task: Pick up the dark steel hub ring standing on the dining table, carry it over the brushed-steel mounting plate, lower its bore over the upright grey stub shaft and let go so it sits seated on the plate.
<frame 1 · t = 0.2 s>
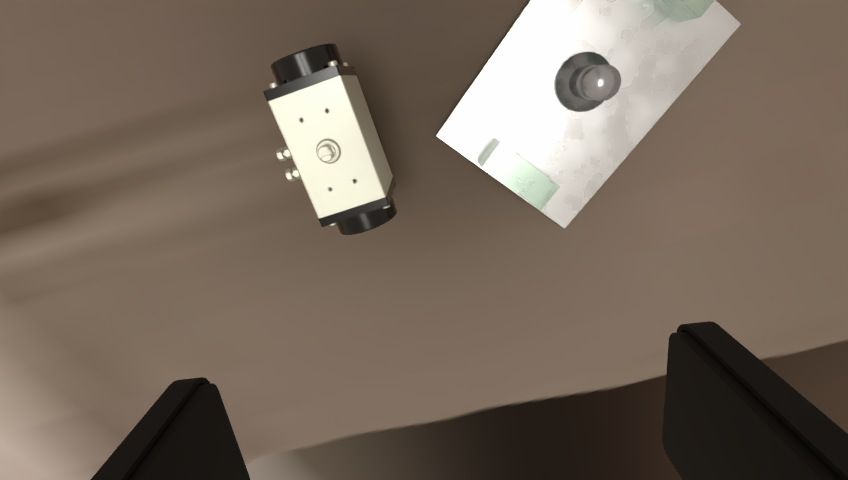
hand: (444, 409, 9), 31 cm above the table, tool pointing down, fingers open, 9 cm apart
pneumatic valve: (351, 132, 37), on the table
seat: (577, 82, 36), on the table
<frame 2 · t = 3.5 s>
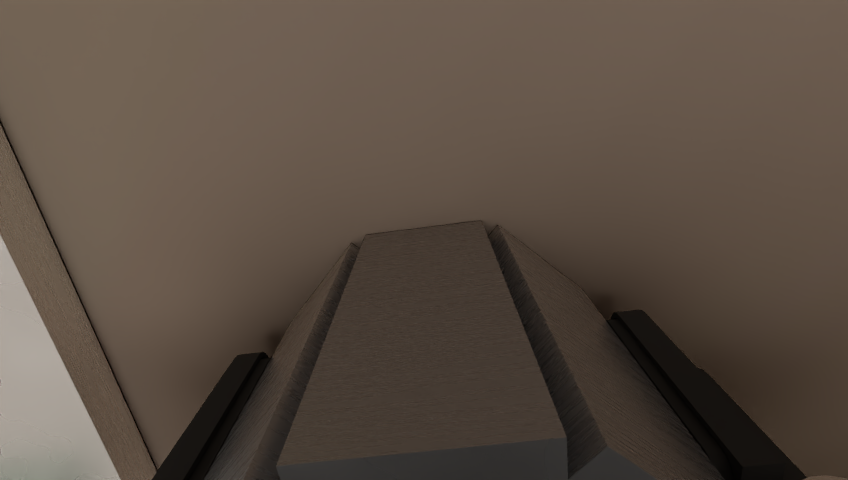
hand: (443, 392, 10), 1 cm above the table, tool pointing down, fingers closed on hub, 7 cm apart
hub: (442, 364, 11), on the table, touching gripper
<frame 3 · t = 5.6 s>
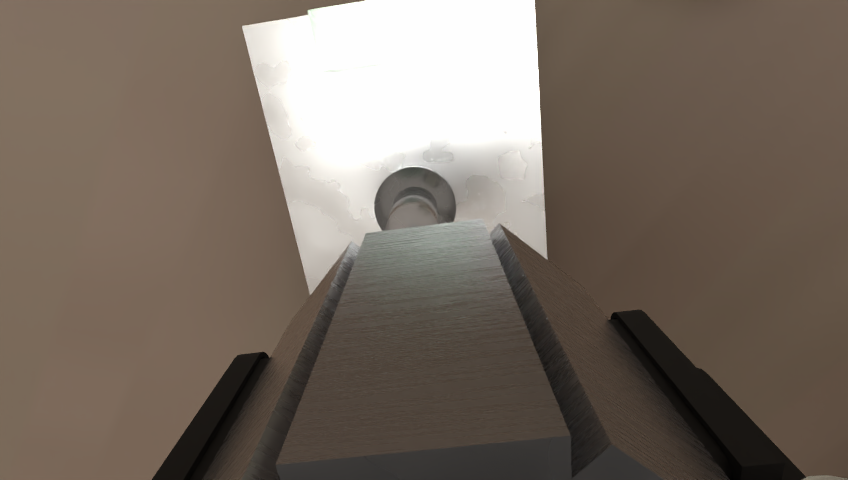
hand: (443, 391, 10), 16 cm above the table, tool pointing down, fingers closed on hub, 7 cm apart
hub: (442, 363, 11), point 15 cm above the table, touching gripper
seat: (416, 200, 25), on the table
when the fingers open (3 cm above the table, at t = 8.0 s): hub stays where it is, resting on seat.
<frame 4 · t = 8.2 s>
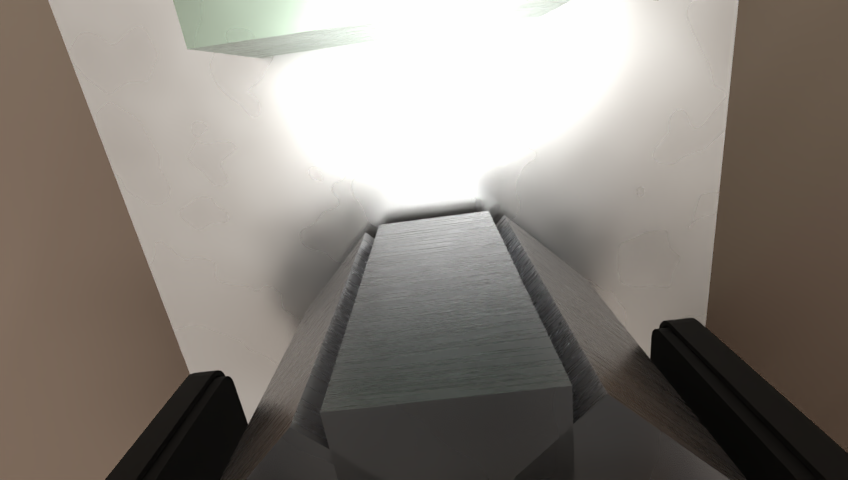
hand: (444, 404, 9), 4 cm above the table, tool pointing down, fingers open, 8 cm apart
hub: (450, 348, 11), point 2 cm above the table, touching seat
seat: (438, 316, 13), on the table
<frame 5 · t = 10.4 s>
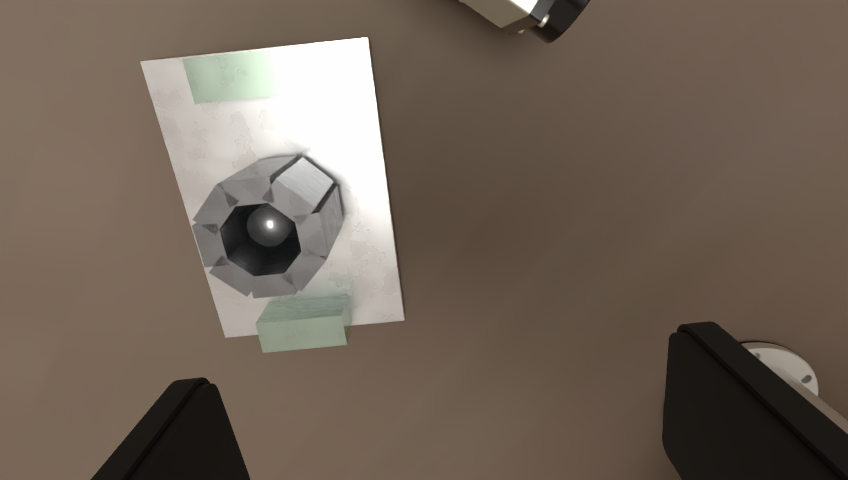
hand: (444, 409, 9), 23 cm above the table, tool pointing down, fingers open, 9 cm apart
hub: (289, 208, 30), point 2 cm above the table, touching seat
seat: (291, 201, 31), on the table
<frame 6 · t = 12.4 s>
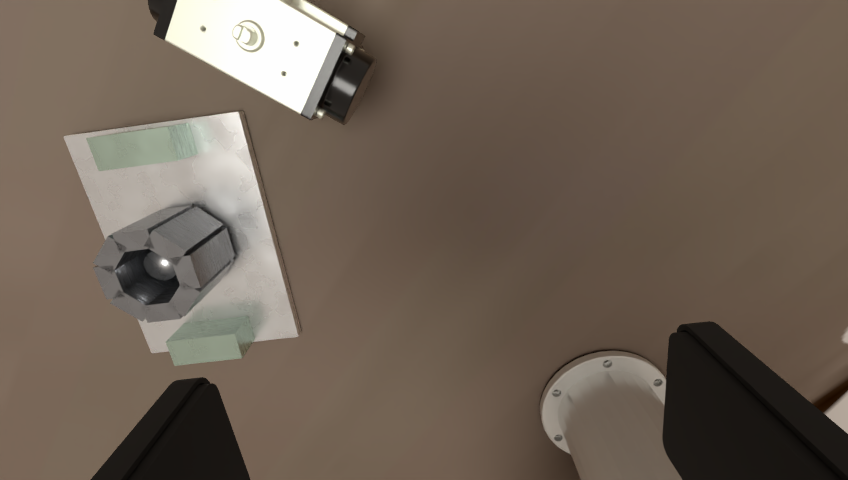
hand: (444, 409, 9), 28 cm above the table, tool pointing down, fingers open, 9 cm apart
pneumatic valve: (307, 44, 33), on the table
hub: (190, 247, 37), point 2 cm above the table, touching seat
seat: (196, 240, 38), on the table
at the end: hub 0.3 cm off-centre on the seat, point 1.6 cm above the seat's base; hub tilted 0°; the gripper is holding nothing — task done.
